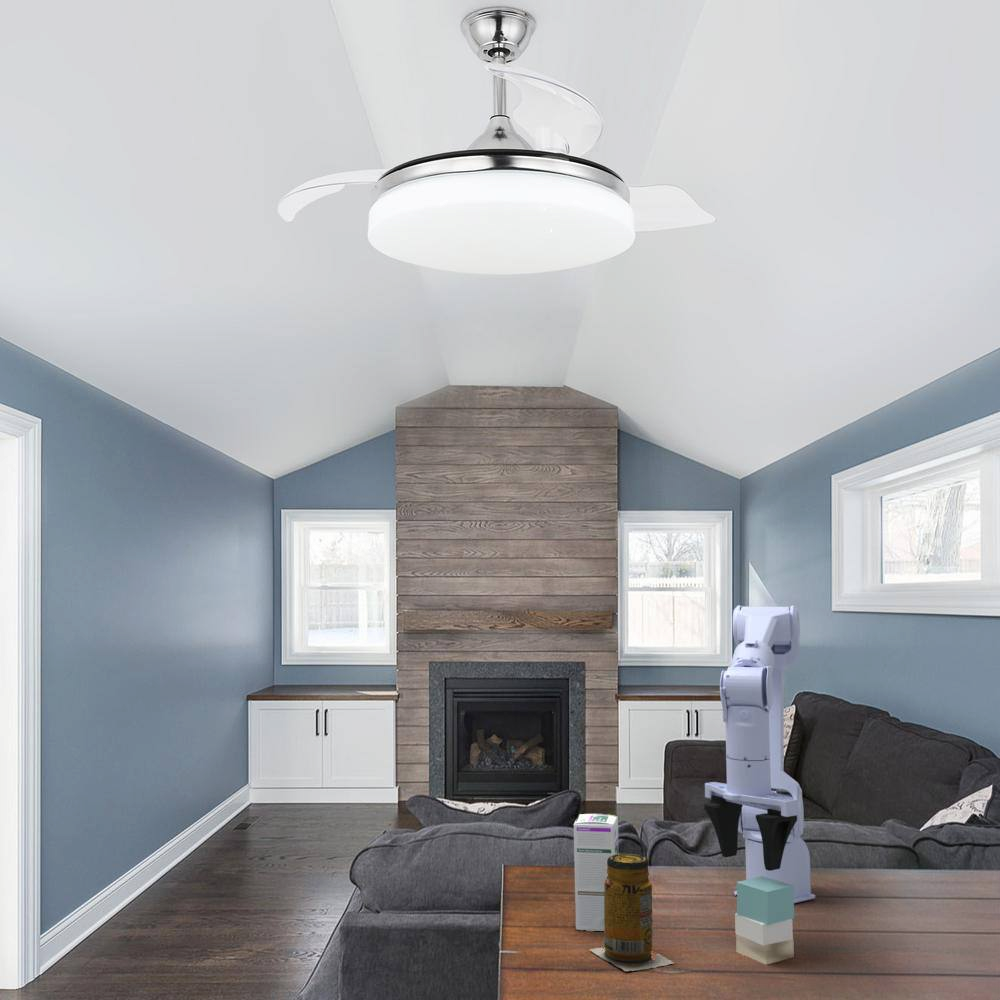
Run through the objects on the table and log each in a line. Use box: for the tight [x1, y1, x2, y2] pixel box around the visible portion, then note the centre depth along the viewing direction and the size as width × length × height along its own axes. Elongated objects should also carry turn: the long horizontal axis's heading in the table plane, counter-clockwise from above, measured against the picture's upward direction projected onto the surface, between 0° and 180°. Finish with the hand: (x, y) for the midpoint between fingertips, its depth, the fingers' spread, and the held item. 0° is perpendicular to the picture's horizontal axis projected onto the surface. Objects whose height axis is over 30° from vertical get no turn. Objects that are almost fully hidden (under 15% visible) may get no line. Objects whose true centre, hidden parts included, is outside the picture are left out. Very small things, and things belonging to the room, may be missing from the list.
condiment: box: [589, 853, 675, 972], centre depth 124 cm, size 7×8×12 cm
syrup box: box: [573, 813, 620, 932], centre depth 136 cm, size 6×6×14 cm
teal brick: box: [736, 876, 795, 925], centre depth 125 cm, size 5×5×4 cm
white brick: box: [734, 912, 794, 946], centre depth 125 cm, size 5×5×2 cm
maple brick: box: [735, 934, 795, 965], centre depth 125 cm, size 5×5×2 cm
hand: (750, 862), depth 129 cm, fingers open, 7 cm apart
